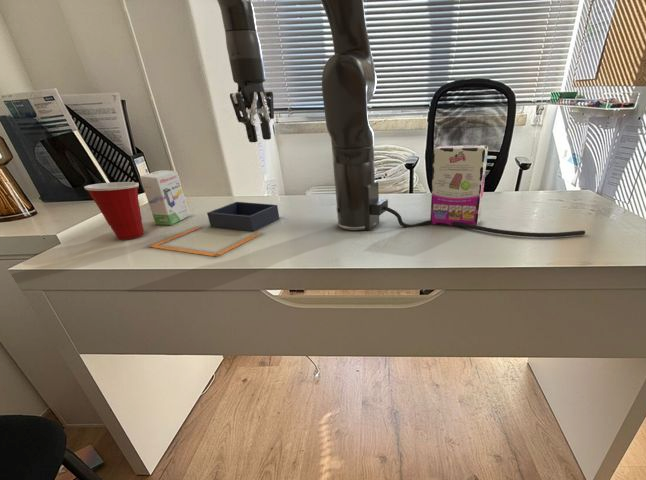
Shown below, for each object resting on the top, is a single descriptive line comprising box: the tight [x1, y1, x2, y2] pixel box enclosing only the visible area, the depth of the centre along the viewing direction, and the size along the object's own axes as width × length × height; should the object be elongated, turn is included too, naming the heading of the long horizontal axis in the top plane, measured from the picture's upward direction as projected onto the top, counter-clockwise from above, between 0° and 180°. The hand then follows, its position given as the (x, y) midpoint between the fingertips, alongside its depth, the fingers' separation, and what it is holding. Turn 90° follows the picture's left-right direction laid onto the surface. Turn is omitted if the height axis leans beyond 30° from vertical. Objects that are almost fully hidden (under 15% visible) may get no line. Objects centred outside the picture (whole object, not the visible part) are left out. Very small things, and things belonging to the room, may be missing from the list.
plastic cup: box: [83, 181, 145, 241], centre depth 90 cm, size 11×11×12 cm
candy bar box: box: [429, 145, 489, 227], centre depth 87 cm, size 11×5×16 cm, turn 68°
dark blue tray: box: [206, 201, 280, 232], centre depth 98 cm, size 13×11×4 cm
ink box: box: [139, 169, 191, 226], centre depth 100 cm, size 9×5×12 cm, turn 168°
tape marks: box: [148, 226, 261, 258], centre depth 88 cm, size 20×15×1 cm
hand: (260, 140), depth 98 cm, fingers open, 5 cm apart
